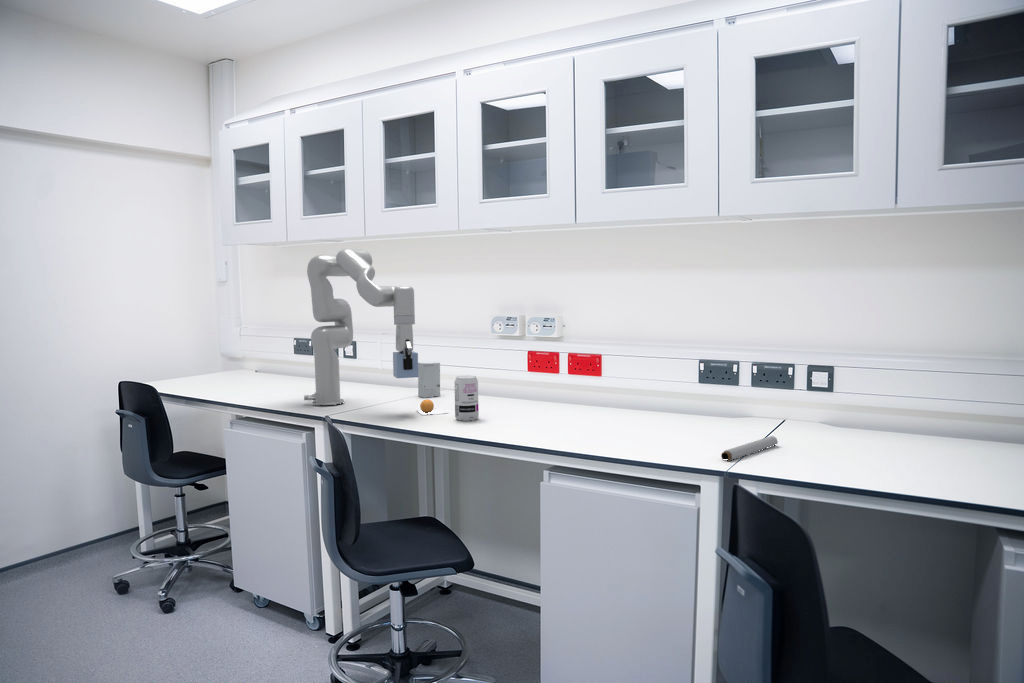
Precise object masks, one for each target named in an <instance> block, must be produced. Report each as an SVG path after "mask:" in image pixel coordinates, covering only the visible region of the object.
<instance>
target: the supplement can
mask: <svg viewBox="0 0 1024 683" xmlns="http://www.w3.org/2000/svg"><path fill="white" fill-rule="evenodd" d="M454 418H455V419H456V420H457V419H458V420H457V421H459V420H463V421H462V422H471V421H470V420H473V421H476V420H477V419H478V418H479V380H478V378H477V376H475V375H458V376H456V377H455V380H454Z"/></svg>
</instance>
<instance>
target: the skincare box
mask: <svg viewBox="0 0 1024 683" xmlns="http://www.w3.org/2000/svg"><path fill="white" fill-rule="evenodd" d="M417 379H418V380H417V388H418V389H417V394H418V397H420V398H422V397H423V398H422V399H426V398H425V397H429V398H433V397H432V396H440V397H441V362H439V361H438V362H437V361H420V362H419V361H418V377H417Z"/></svg>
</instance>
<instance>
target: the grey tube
mask: <svg viewBox="0 0 1024 683" xmlns="http://www.w3.org/2000/svg"><path fill="white" fill-rule="evenodd" d="M778 443H779V442H778V438H777V437H776V436H774V435H770V436H767V437H763V438H761V439H757V440H754V441H751V442H748V443H745V444H741V445H738V446H735V447H732V448H728V449H726V450H724V451H723V452H722V453H721V454H720V455H721V456H720V457H721V459H722V460H723V459H728V460H732V461H734V460H733V459H735V460H737V459H736V458H738V459H740V458H739V457H741V458H743V457H742V456H744V457H746V456H745V455H747V456H749V455H748V454H750V455H752V454H751V453H753V454H755V453H754V452H756V453H758V452H757V451H759V450H762V449H765V448H767V447H770V446H773V445H775V444H777V445H778ZM765 450H766V449H765ZM762 451H763V450H762ZM759 452H760V451H759Z"/></svg>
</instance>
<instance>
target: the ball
mask: <svg viewBox="0 0 1024 683" xmlns="http://www.w3.org/2000/svg"><path fill="white" fill-rule="evenodd" d="M419 407H420V410H422V411H423V412H425V413H428V412H431V411H432V410H433V409H435V406H434V402H433V401H432V400H430V399H426V398H425V399H424V400H422V401H421V402H420V406H419Z"/></svg>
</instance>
